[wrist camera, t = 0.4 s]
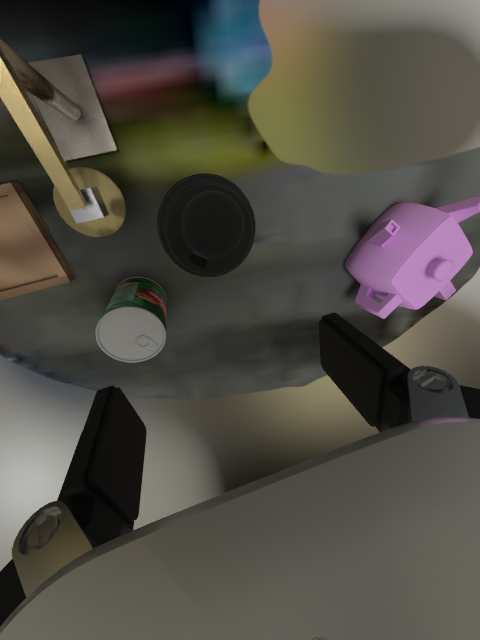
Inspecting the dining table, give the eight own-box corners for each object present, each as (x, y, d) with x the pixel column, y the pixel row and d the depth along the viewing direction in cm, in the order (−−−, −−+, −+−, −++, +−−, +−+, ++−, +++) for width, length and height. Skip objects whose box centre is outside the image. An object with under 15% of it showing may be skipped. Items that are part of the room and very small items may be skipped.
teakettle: (339, 302, 49) (385, 334, 38) (344, 211, 40) (406, 220, 30) (412, 282, 51) (474, 307, 41) (432, 192, 42) (518, 194, 32)
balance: (-36, -55, 21) (-694, -827, 5) (38, -63, 21) (-332, -763, 6) (99, 228, 33) (34, 268, 17) (144, 218, 33) (121, 246, 18)
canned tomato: (102, 304, 38) (80, 343, 28) (132, 265, 36) (119, 293, 27) (148, 330, 41) (141, 372, 32) (177, 296, 40) (179, 330, 31)
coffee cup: (165, 249, 36) (163, 285, 23) (157, 176, 32) (149, 169, 19) (228, 248, 38) (257, 279, 25) (228, 179, 34) (264, 175, 21)
